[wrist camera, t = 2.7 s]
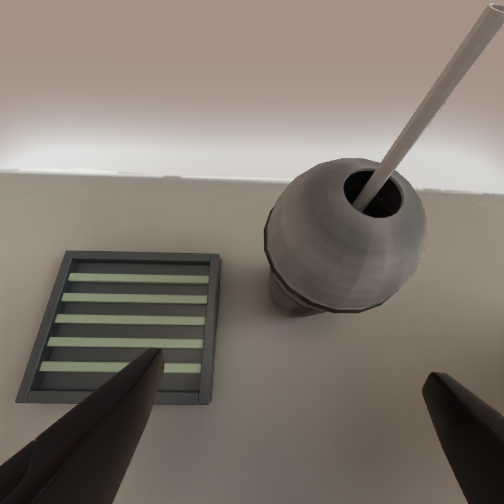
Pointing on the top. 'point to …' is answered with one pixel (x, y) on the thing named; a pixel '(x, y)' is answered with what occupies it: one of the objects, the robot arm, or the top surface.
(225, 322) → the top surface
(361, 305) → the beverage cup
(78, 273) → the drying rack
